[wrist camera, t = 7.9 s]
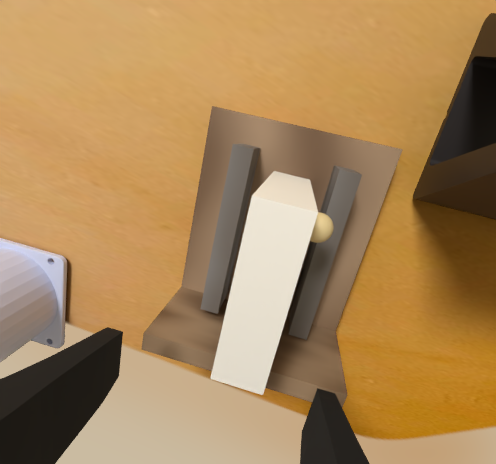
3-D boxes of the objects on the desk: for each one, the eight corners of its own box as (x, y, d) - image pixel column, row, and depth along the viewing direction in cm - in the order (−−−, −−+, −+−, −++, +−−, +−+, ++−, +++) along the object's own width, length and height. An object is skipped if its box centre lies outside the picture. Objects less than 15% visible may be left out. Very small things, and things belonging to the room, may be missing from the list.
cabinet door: (246, 283, 19) (210, 378, 11) (274, 170, 17) (252, 195, 9) (295, 297, 19) (292, 404, 11) (330, 184, 16) (356, 221, 9)
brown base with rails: (187, 289, 21) (141, 349, 15) (219, 109, 18) (175, 91, 12) (328, 330, 20) (340, 411, 14) (393, 148, 17) (447, 153, 11)
